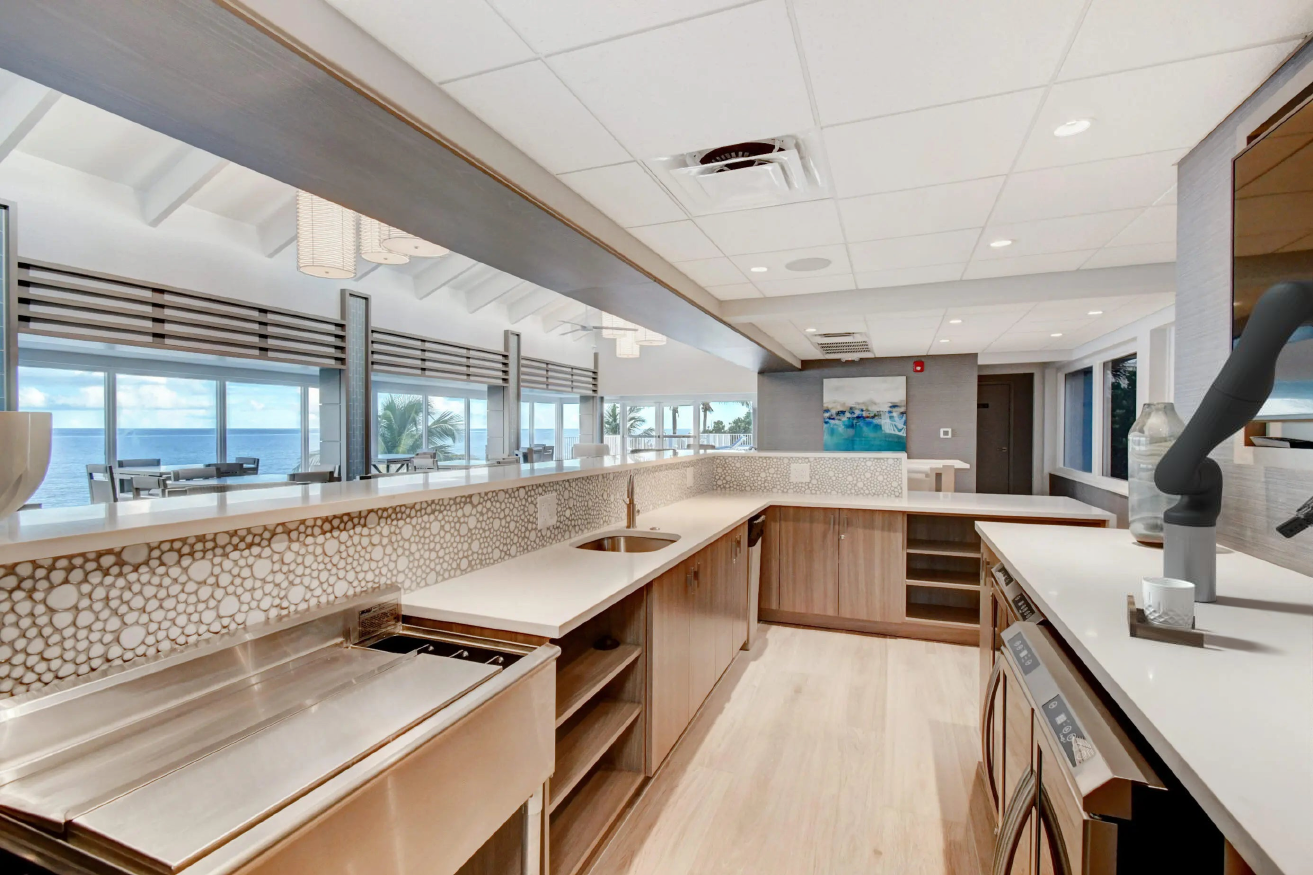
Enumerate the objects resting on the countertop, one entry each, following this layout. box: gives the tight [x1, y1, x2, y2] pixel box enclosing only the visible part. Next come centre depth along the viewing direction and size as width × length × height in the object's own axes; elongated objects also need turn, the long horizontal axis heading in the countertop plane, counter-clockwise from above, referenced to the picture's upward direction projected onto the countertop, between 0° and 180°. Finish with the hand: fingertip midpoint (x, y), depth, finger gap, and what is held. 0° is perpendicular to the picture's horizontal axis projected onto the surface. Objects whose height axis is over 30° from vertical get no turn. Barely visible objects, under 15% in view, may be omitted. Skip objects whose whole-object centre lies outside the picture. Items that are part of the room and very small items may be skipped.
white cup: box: [1141, 576, 1195, 631], centre depth 115 cm, size 8×8×10 cm
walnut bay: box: [1126, 594, 1205, 649], centre depth 115 cm, size 13×10×5 cm
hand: (1281, 533), depth 108 cm, fingers closed
